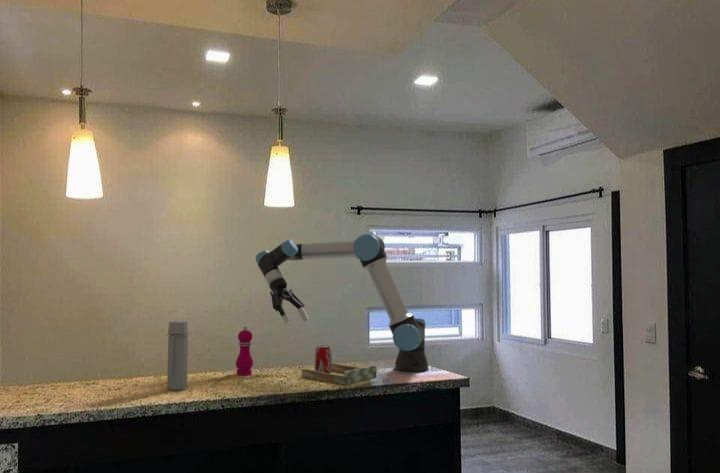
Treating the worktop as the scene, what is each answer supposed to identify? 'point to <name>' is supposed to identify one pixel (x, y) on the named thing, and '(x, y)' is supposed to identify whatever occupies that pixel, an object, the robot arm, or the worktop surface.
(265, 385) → the worktop surface
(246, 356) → the pepper mill
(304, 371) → the wooden tray
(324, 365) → the soda can
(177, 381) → the water bottle
